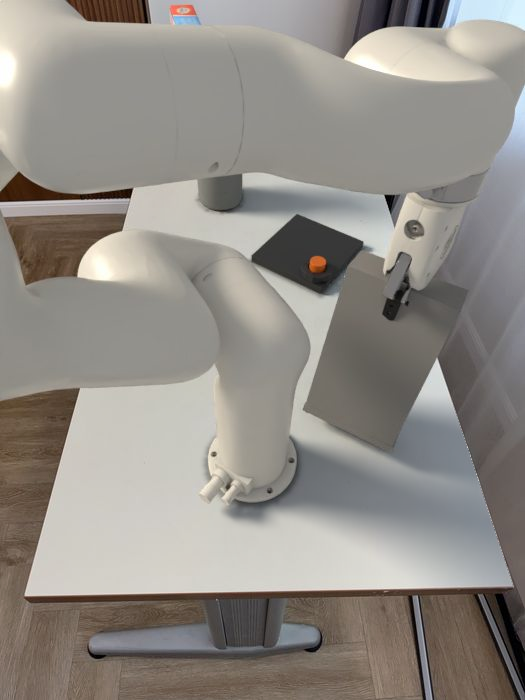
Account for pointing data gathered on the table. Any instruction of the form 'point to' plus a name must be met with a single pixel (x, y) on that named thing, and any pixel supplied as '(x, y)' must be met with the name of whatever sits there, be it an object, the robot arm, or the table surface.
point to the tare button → (317, 264)
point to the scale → (307, 252)
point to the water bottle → (220, 191)
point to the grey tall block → (379, 352)
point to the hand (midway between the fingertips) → (399, 304)
